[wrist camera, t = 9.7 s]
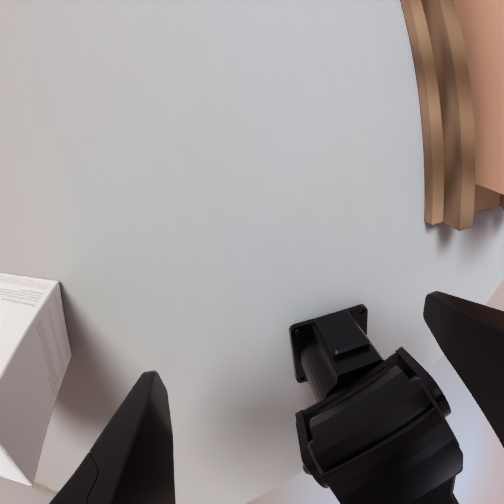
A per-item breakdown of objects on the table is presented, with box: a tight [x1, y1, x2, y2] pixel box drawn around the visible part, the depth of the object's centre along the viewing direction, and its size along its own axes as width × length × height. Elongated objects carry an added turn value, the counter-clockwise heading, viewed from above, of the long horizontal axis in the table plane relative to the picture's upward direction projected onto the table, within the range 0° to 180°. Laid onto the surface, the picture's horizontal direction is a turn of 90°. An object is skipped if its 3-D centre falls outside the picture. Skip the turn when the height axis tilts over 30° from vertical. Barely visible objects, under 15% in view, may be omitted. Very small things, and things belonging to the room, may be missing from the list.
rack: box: [401, 0, 504, 231], centre depth 17 cm, size 22×12×3 cm, turn 10°
